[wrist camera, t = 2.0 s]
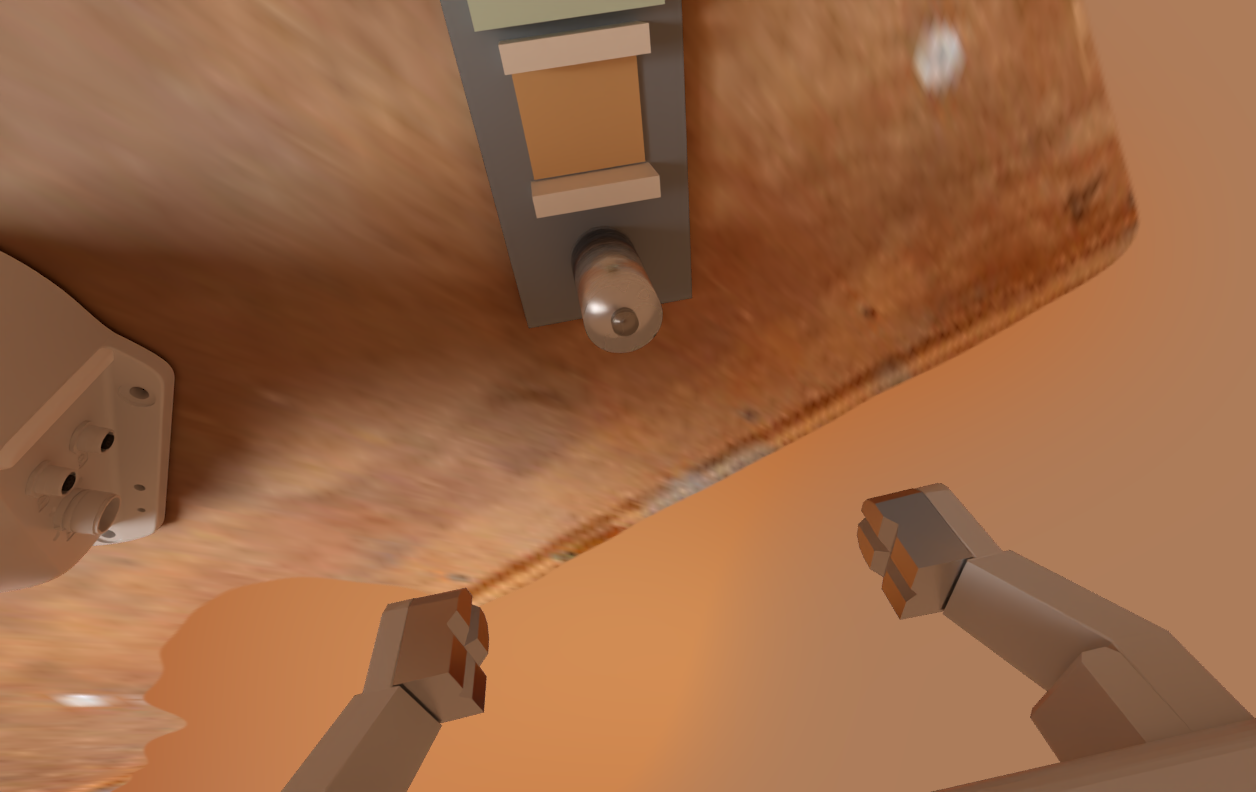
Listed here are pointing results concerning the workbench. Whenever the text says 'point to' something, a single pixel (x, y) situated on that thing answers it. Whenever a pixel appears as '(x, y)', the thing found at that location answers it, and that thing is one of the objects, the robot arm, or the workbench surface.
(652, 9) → the board
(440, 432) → the workbench surface
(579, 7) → the pale green flat frame
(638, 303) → the cell
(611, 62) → the cradle
